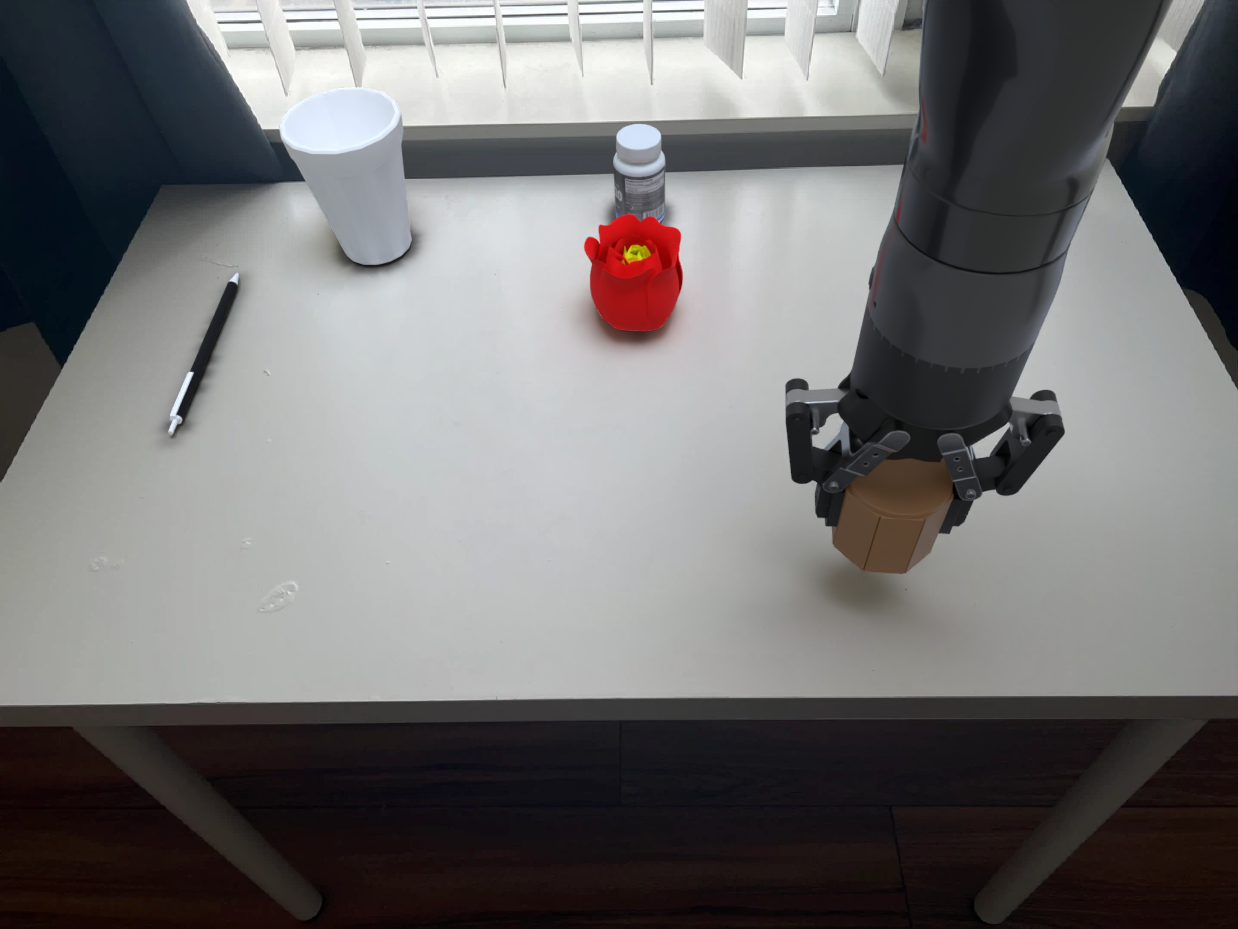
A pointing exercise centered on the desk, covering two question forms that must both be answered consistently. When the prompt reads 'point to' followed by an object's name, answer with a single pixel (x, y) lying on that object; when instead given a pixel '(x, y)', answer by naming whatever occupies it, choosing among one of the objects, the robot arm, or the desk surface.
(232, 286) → the pen
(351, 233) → the cup
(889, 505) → the brown octagonal prism
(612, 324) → the flower
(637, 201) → the pill bottle
